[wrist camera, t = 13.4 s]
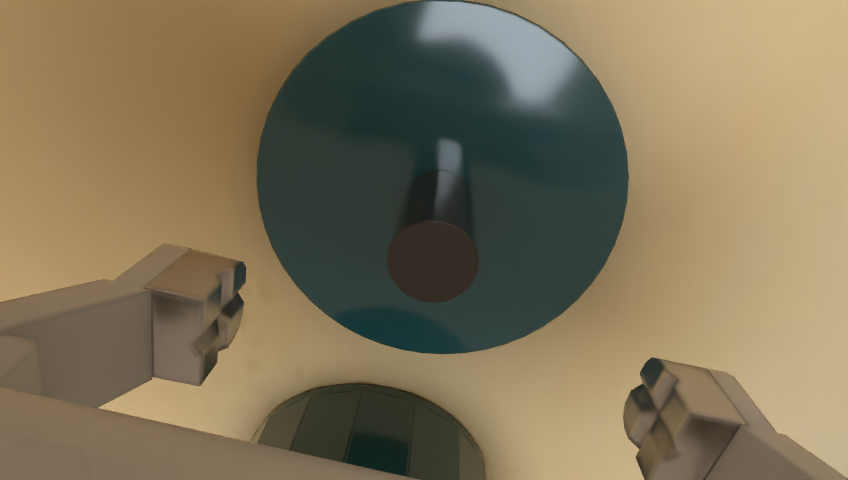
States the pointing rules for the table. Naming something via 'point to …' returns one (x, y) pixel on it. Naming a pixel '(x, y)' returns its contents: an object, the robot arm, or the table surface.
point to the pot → (375, 432)
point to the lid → (442, 176)
